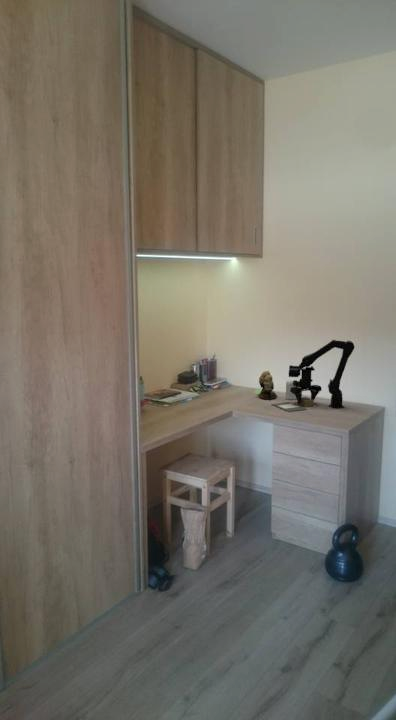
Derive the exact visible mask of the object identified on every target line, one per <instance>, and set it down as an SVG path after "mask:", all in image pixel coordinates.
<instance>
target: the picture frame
mask: <svg viewBox="0 0 396 720" xmlns="http://www.w3.org/2000/svg"><path fill="white" fill-rule="evenodd" d="M271 406H273V407H276V408H278V409H280V410H283V411H285V412H288V413H293V412H299V411H305V410H307V408H306V407H304V406H301V405H299V404H295V403H291V402H290V401H286V402H277V403H271Z"/></svg>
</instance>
